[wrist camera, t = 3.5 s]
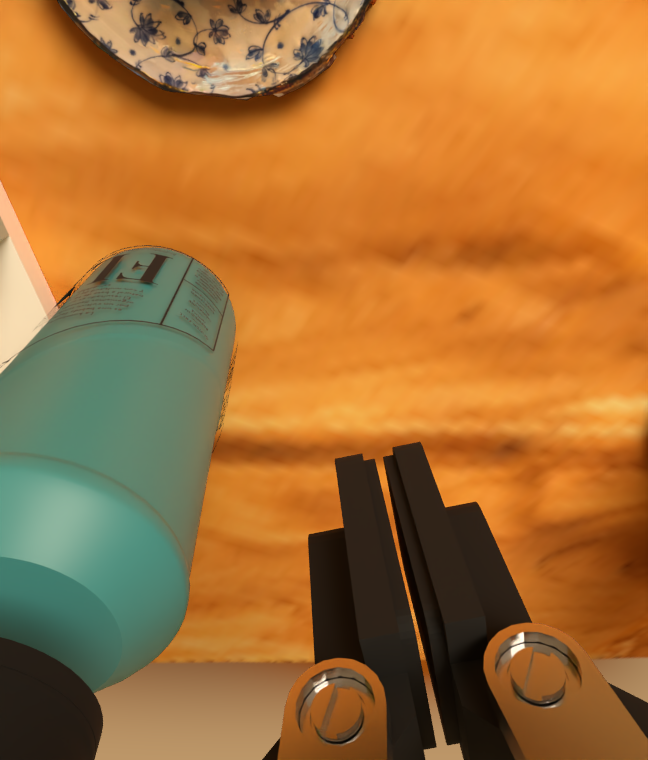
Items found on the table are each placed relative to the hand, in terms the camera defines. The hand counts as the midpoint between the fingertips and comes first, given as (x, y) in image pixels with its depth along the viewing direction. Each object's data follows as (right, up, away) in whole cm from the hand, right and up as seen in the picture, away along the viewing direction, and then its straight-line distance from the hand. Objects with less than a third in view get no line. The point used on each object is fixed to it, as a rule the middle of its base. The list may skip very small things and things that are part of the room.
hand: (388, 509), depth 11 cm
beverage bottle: (-8, +6, +14) cm, 17 cm away
